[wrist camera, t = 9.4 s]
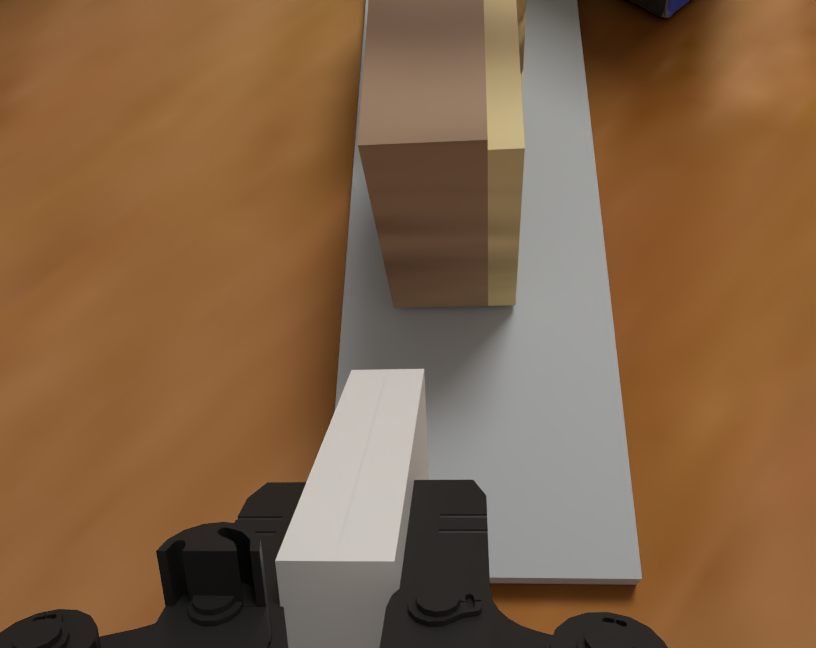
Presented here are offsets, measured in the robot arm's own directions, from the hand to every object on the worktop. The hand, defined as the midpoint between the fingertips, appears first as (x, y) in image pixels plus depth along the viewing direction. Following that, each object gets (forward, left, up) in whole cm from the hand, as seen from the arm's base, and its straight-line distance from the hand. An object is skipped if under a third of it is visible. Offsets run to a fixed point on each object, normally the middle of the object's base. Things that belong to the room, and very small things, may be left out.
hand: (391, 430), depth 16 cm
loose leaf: (-14, +2, -10) cm, 17 cm away
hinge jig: (-13, +3, -11) cm, 18 cm away
